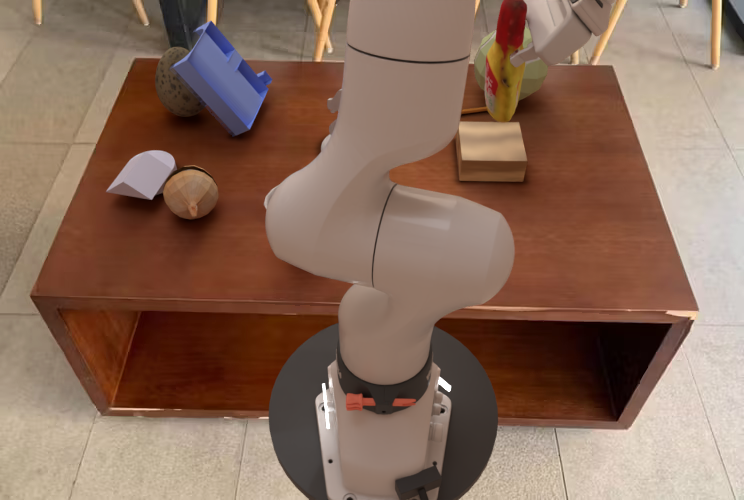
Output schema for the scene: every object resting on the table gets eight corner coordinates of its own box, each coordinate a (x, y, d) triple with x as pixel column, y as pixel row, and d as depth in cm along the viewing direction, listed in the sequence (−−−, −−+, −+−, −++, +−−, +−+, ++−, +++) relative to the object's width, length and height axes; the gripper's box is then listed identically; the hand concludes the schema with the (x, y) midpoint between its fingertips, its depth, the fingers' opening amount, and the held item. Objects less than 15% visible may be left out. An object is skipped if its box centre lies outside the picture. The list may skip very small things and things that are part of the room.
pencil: (498, 104, 144) (411, 116, 141) (499, 104, 143) (412, 115, 140) (498, 109, 144) (412, 120, 141) (500, 109, 143) (413, 120, 140)
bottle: (519, 130, 112) (535, 16, 98) (480, 128, 113) (490, 15, 98) (519, 90, 120) (533, -20, 106) (482, 89, 121) (492, -21, 107)
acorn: (197, 146, 122) (191, 171, 108) (230, 185, 126) (227, 214, 112) (157, 175, 123) (145, 203, 109) (190, 213, 127) (182, 245, 113)
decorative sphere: (535, 60, 129) (503, 122, 139) (573, 45, 138) (541, 104, 148) (477, 18, 134) (450, 82, 144) (518, 7, 143) (490, 67, 154)
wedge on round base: (156, 213, 121) (186, 167, 130) (146, 185, 116) (178, 139, 125) (111, 205, 123) (143, 160, 131) (99, 177, 118) (134, 133, 127)
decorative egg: (217, 124, 140) (204, 59, 129) (163, 131, 138) (146, 66, 127) (213, 95, 147) (200, 31, 136) (162, 101, 145) (146, 37, 134)
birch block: (523, 181, 127) (527, 161, 124) (459, 180, 128) (462, 160, 124) (515, 142, 136) (519, 122, 132) (455, 141, 136) (457, 121, 132)
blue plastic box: (249, 129, 134) (224, 140, 138) (273, 79, 144) (248, 90, 148) (186, 60, 124) (161, 73, 128) (217, 10, 134) (192, 24, 138)
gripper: (559, -57, 106) (489, 2, 113) (585, 6, 92) (503, 68, 99) (582, -29, 109) (512, 26, 116) (609, 36, 95) (528, 94, 103)
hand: (508, 46), depth 108 cm, fingers closed on bottle, 8 cm apart
